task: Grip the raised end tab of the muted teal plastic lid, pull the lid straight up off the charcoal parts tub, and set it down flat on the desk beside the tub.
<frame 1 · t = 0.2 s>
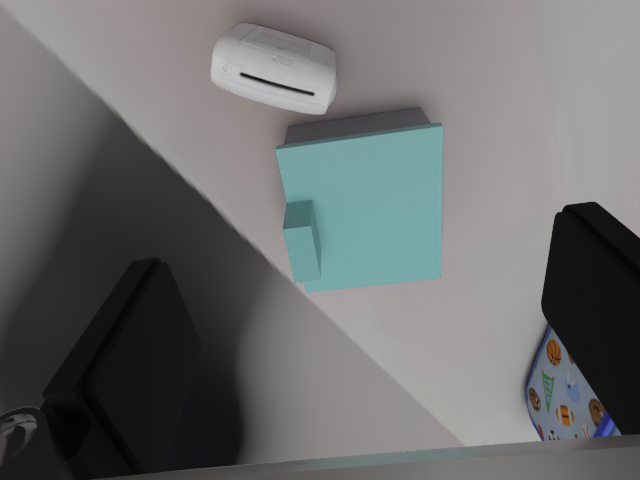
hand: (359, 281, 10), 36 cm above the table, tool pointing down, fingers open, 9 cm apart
lunch box: (566, 340, 63), on the table
photo printer: (284, 55, 42), on the table
tub: (360, 185, 49), on the table
lid: (364, 207, 44), point 5 cm above the table, touching tub
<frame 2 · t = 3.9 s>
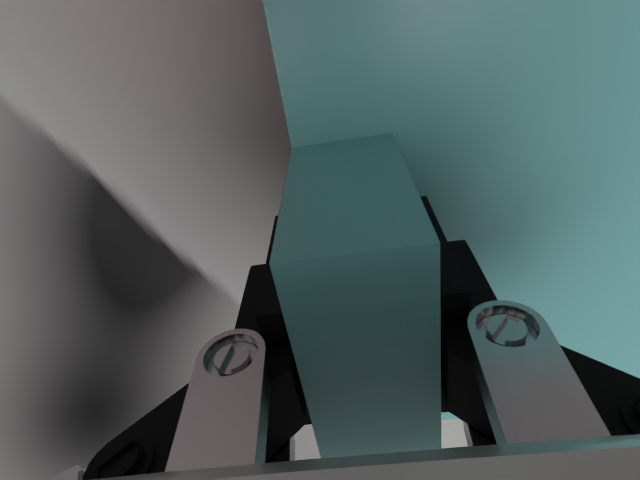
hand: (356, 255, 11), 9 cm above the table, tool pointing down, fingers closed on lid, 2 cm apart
lid: (543, 176, 14), point 5 cm above the table, touching gripper, tub
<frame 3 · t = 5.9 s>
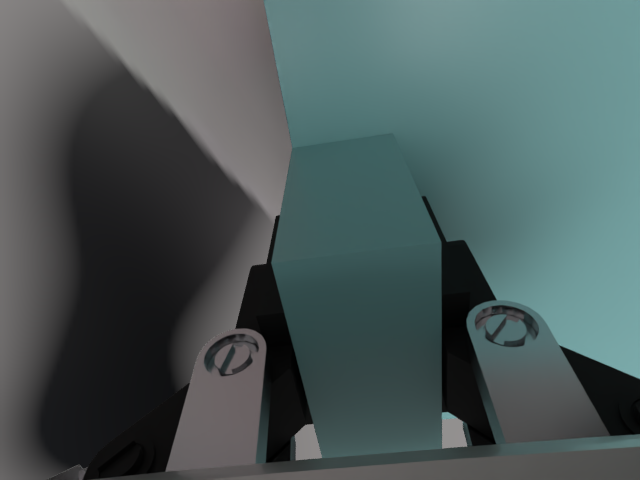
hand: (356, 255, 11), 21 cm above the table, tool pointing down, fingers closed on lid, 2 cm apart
lid: (543, 176, 14), point 18 cm above the table, touching gripper
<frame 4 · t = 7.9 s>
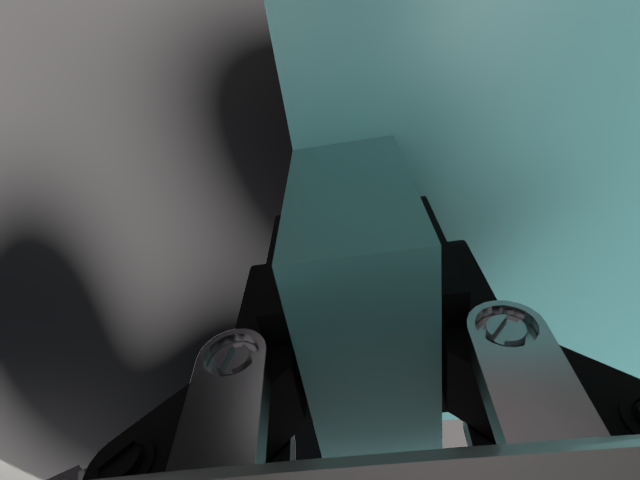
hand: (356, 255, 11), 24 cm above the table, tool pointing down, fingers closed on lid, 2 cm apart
lid: (543, 178, 14), point 21 cm above the table, touching gripper
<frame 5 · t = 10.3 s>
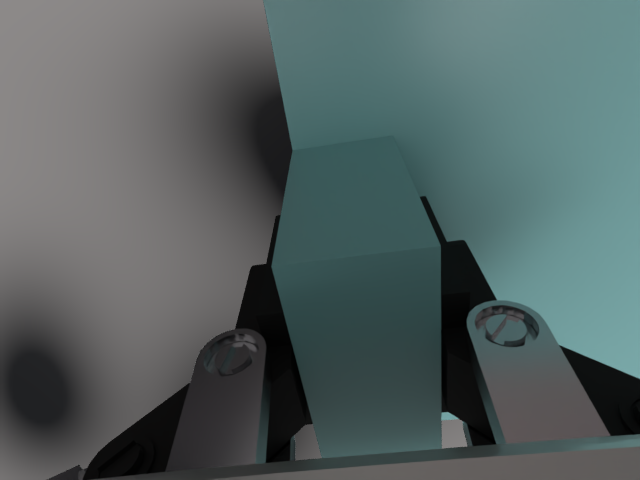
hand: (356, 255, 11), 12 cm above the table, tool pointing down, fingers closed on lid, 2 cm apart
lid: (543, 178, 14), point 9 cm above the table, touching gripper
when the fingers open (5 cm above the table, at t = 12.3 s): lid drops 2 cm, on the table.
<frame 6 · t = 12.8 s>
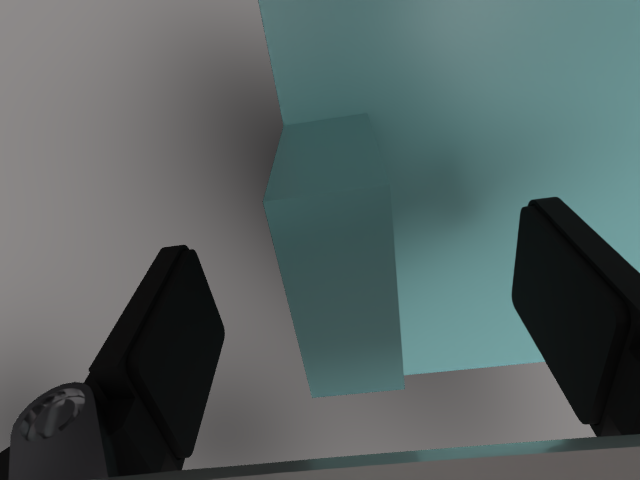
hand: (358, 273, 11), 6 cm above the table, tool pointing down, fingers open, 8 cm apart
lid: (504, 154, 16), on the table
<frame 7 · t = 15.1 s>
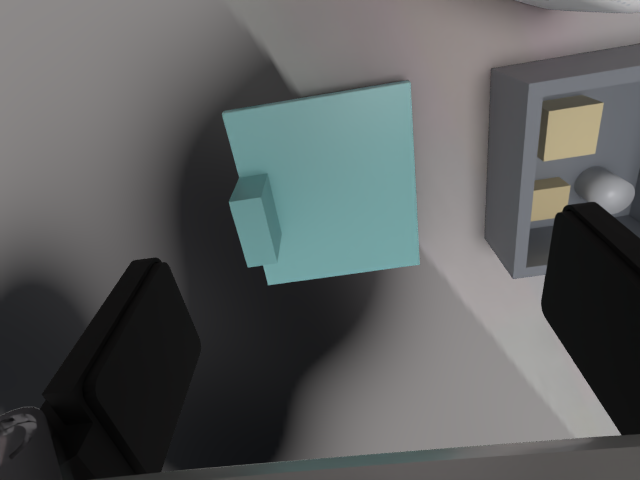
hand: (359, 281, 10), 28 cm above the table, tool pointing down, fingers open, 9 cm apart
tub: (567, 150, 37), on the table
lid: (329, 185, 39), on the table
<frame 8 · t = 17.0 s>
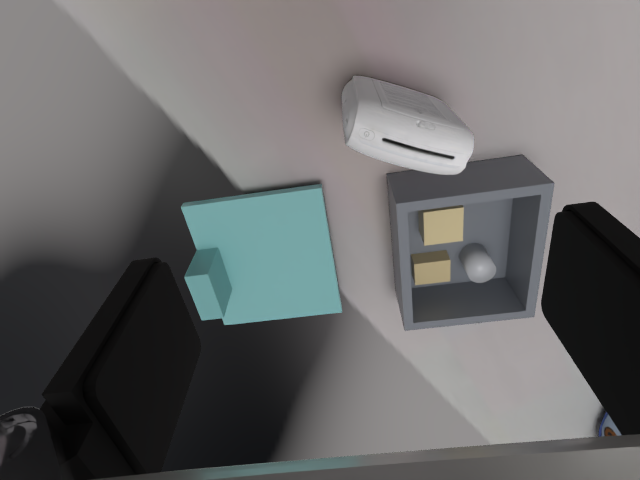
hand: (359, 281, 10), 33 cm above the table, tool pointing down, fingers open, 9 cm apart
photo printer: (391, 105, 41), on the table
tub: (452, 229, 48), on the table
lid: (270, 251, 50), on the table
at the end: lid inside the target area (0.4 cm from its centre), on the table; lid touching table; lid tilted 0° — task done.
